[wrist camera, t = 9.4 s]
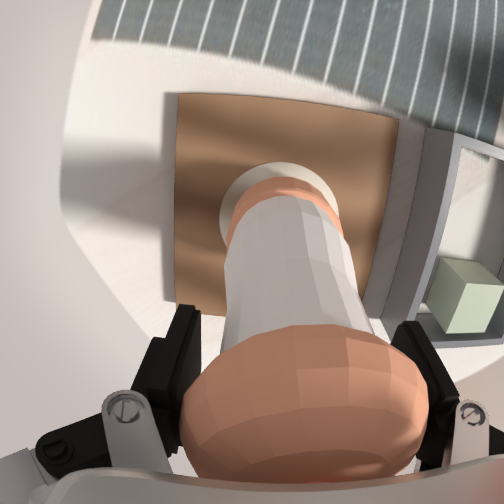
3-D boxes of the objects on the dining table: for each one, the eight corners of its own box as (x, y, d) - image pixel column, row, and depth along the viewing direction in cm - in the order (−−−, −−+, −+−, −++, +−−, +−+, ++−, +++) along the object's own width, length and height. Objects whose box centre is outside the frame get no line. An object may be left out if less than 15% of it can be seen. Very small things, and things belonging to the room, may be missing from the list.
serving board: (183, 94, 22) (178, 93, 21) (393, 119, 22) (399, 119, 21) (179, 303, 29) (175, 311, 28) (351, 318, 29) (354, 326, 28)
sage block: (440, 256, 26) (466, 283, 22) (478, 261, 26) (504, 285, 22) (425, 303, 28) (445, 333, 24) (462, 304, 28) (484, 332, 24)
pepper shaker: (282, 290, 25) (294, 554, 8) (210, 228, 23) (102, 497, 6) (354, 227, 23) (491, 476, 5) (282, 153, 21) (363, 380, 3)
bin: (426, 127, 22) (454, 132, 18) (532, 164, 22) (562, 175, 18) (380, 319, 29) (394, 349, 25) (483, 320, 29) (502, 344, 25)
